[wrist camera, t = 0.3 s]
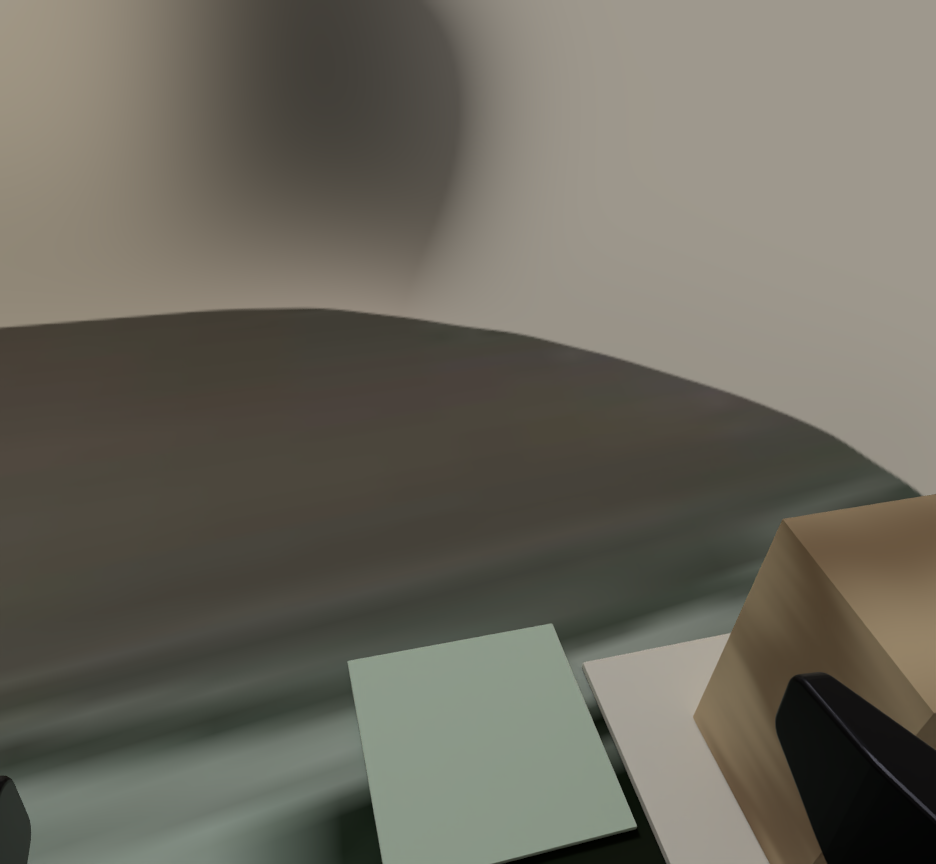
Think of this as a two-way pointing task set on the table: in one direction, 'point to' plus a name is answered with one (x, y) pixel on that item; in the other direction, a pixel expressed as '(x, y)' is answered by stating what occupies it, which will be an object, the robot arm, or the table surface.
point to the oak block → (824, 650)
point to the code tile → (673, 750)
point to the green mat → (482, 751)
